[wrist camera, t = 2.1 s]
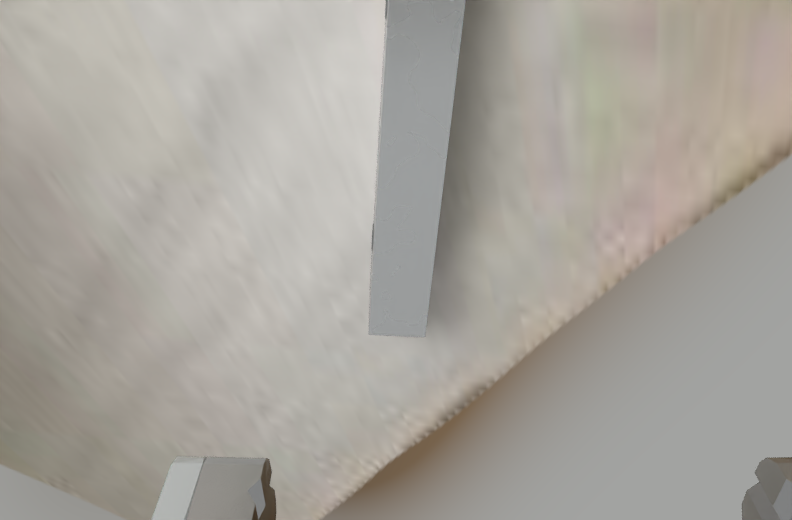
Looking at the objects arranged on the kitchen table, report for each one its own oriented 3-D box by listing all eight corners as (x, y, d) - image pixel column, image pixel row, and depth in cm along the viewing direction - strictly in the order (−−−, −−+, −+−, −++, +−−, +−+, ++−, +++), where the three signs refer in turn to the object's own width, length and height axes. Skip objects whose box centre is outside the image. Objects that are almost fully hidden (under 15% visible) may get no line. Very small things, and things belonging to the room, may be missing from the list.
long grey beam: (369, 270, 34) (367, 334, 29) (391, -116, 24) (393, -103, 20) (420, 273, 34) (426, 337, 30) (462, -110, 24) (479, -96, 20)
